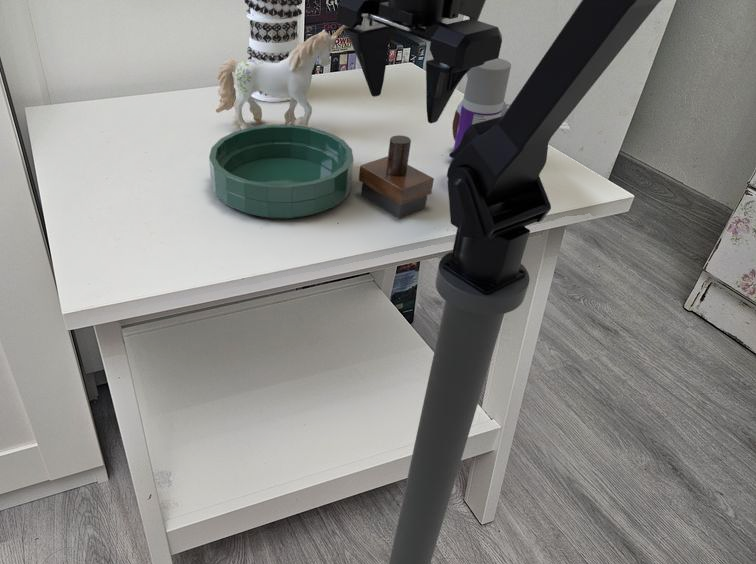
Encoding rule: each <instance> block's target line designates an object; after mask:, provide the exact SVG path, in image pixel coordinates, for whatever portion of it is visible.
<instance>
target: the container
mask: <svg viewBox="0 0 756 564" xmlns="http://www.w3.org/2000/svg"><path fill="white" fill-rule="evenodd" d="M511 68H512V64H511V62H510V61H508V60H505V59H503V58H500V57H498V59H494V60H490V61H487V62H485V63H484V64H483V65H481V66H477V67H473V68H471V69H470V70H469V75H468V79H467V78H466V79H467V80H466V85H465V89H464V94H463V98H462V100H463V103H462V107H461V113H460V118H459V123H458V129H457V134H456V139H455V140H454V145H453V149H452V150H453V151H455V150H456V148H457V147H458V146H459V144H460V142H461V140H462V138H463V135H464V133H465V131H466V130H467V129H468V128H469V126H470V125H472V124H475V123H479V122H483V121H486V120H490V119H493V118H497V117H501V112H502V108H503V103H504V102H505V97H506V93H507V88H508V83H509V78H510V73H511ZM453 151H452V152H453ZM453 159H454V158H451V161H450V163H451V162H452V160H453Z"/></svg>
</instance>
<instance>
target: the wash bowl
mask: <svg viewBox="0 0 756 564" xmlns="http://www.w3.org/2000/svg"><path fill="white" fill-rule="evenodd" d="M208 161H209V162H208V163H209V173H210V187H211V189H212V190H213V191H212V192H213V193H214V195H215V198H217V199H218V200H220V201H221V202H222V203H223V204H225V205H226V206H227V207H230V208H232V209H235V210H237V211H240V212H242V213H245V214H248V215H252V216H256V217H261V218H268V219H293V218H294V219H295V218H296V219H297V218H302V217H307V216H314V215H315V214H319V213H321V212H324V211H326V210H329V209H332V208H334V207H336V206H337V205H338V204H340V203H342V202H343V201H344V200H346V198H347V197H348V195H349V193H350V192H351V190H352V184H353V182H352V181H353V170H354V154H353V149H352V147H350V145H349V144H348V143H347V142H346V141H345V140H344V139H342V138H340V137H339V136H337V135H335V134H333V133H331V132H329V131H325V130H321V129H319V128H315V127H311V126H307V127H304V126H297V125H291V124H287V125H285V124H268V125H259V126H250V128H247V129H243V130H242V129H239V130H236V131H233V132H231V133H229V134H227V135H225V136H223V137H221V138H220V139H218V141H216V142H215V144H213V146H212V147H211V149H210V152H209V156H208Z"/></svg>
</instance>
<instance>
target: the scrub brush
mask: <svg viewBox="0 0 756 564" xmlns="http://www.w3.org/2000/svg"><path fill="white" fill-rule="evenodd" d="M388 143H389V144H388V153H387V156H385V157H381V158H379V159H375V160H372V161H369V162H366V163H364V164H360V165H359V172H358V181H359V182H360V183H361V189H360V196H361V197H362V198H364V199H366V200H368V201H369V202H370V203H372V204H374V205H375V206H377V207H379V208H381V209H382V210H384V211H386V212H388V213H389V214H391V215H392V216H394V217H395V218H397V219H401V218H404V217H407V216H409V215H411V214H415V213H417V212H419V211H422V210H424V209H426V205H427V200H428V196H429V195H431V194H432V193H433V186H434V181H435V178H434V177H432V176H430V175H428V174H426V173H424V172H423V171H421V170H419V169H417V168H415V167H413V166H411V165H409V158H410V151H411V150H410V149H411V143H412V140H411V138H410V137H409V136H405V135H401V134H400V135H397V134H396V135H393V136H391V137H390V138H389V142H388Z"/></svg>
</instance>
